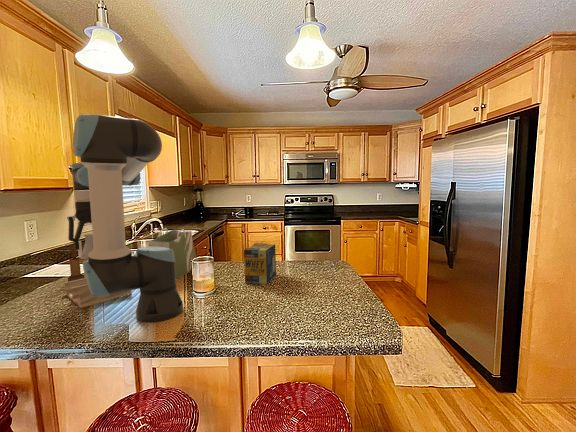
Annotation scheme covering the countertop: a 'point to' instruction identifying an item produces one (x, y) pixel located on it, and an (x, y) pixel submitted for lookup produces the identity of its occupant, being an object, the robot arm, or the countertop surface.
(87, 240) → the flask
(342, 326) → the countertop surface
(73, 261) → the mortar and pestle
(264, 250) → the protein box
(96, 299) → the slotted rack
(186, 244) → the grocery bag
